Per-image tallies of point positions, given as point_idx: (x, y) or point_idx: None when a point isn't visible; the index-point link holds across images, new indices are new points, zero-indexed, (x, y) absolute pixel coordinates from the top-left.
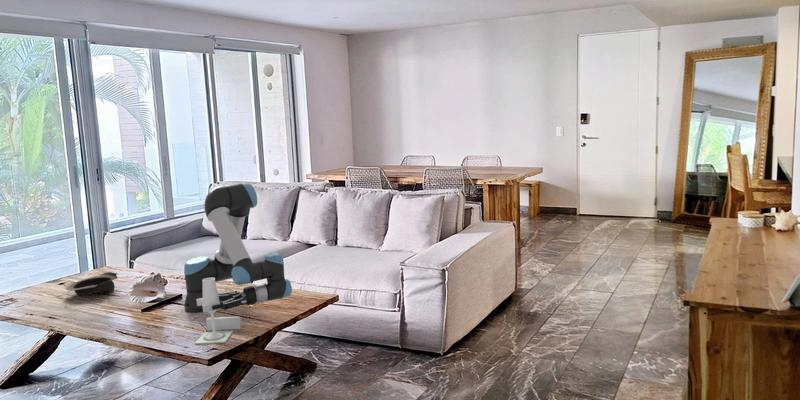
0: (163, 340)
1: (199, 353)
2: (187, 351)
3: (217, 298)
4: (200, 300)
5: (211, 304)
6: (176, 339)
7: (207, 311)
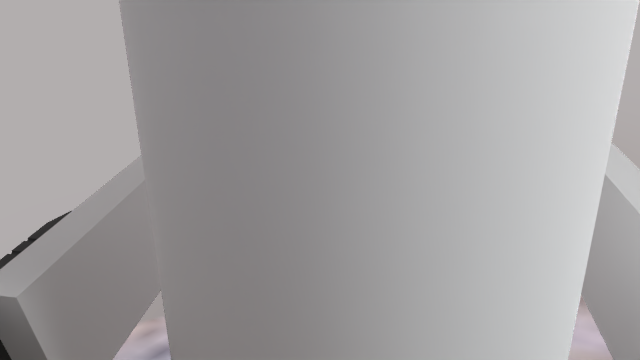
0: None
1: (150, 353)
2: None
3: (164, 274)
4: None
5: (105, 190)
6: None
7: None
